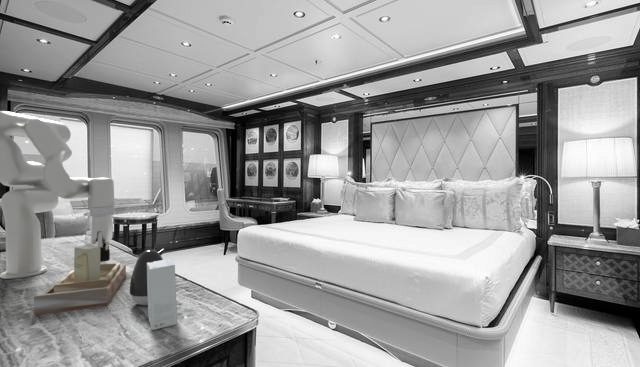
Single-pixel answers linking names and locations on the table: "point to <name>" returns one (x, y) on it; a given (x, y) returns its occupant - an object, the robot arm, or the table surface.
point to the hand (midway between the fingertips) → (104, 260)
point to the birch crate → (105, 277)
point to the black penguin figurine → (142, 276)
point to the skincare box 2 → (161, 294)
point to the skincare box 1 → (86, 263)
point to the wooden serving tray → (77, 297)
